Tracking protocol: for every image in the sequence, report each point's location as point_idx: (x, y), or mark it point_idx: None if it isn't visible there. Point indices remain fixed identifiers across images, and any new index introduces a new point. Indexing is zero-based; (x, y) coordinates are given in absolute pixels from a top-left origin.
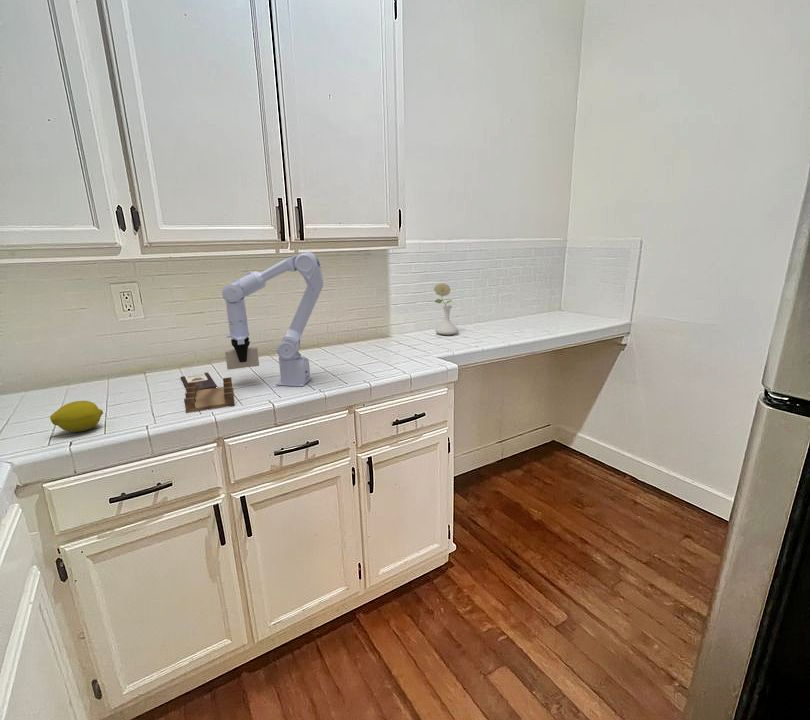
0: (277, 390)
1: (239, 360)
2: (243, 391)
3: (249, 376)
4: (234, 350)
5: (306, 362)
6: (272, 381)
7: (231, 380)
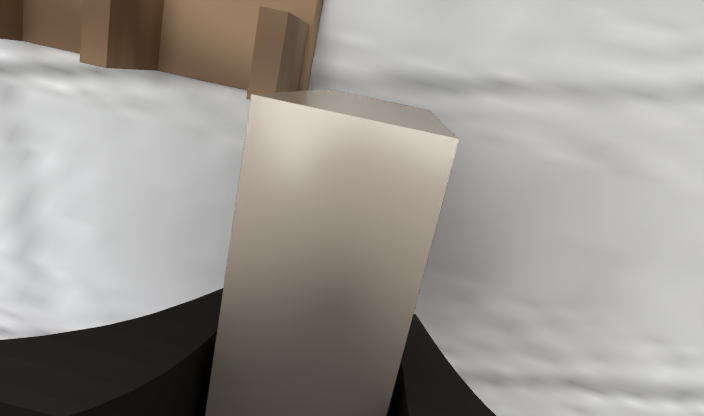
0: None
1: None
2: (183, 158)
3: (558, 318)
4: (272, 332)
5: None
6: None
7: None
